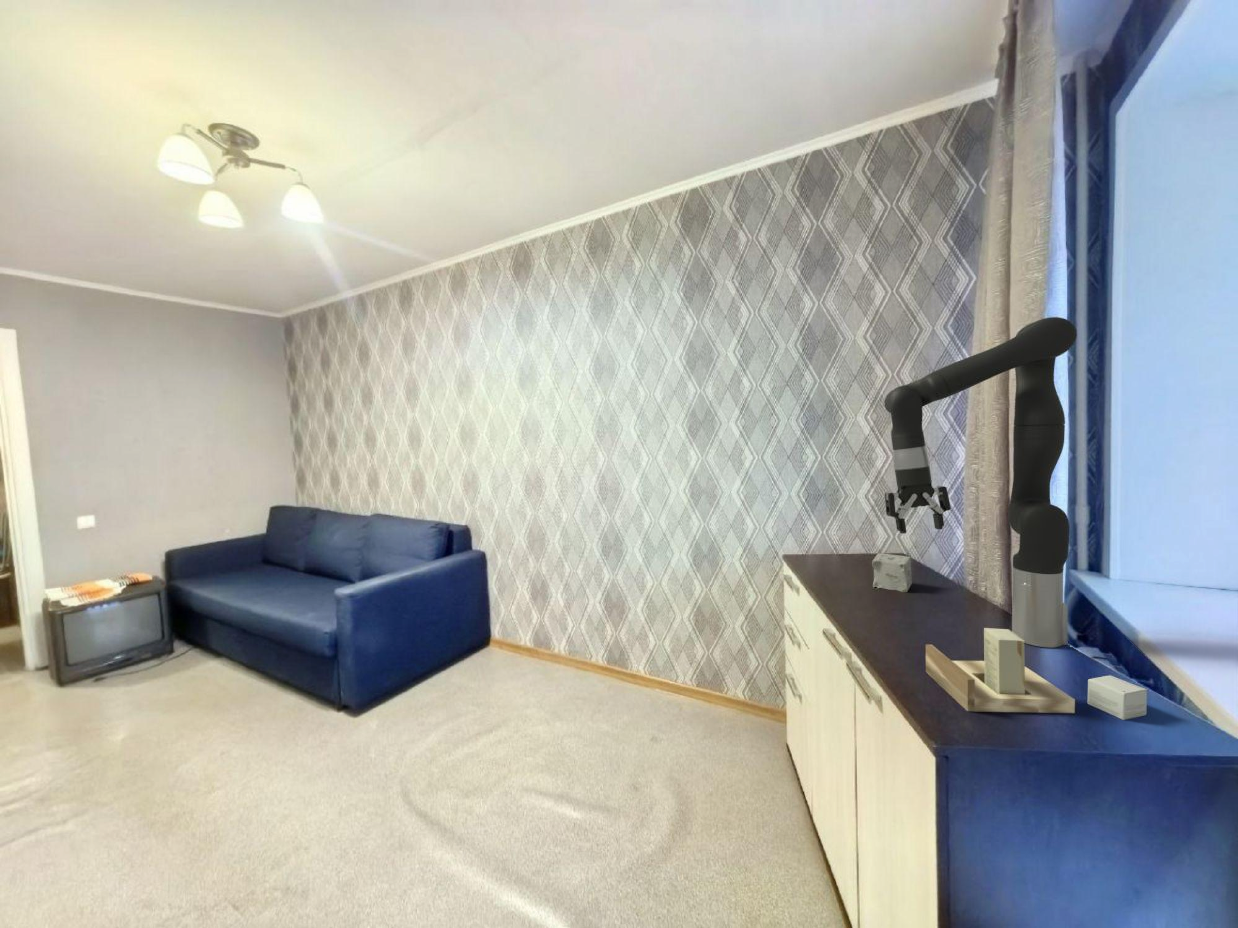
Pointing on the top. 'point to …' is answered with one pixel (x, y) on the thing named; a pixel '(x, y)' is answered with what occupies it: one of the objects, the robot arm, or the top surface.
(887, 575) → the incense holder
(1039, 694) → the rack
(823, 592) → the top surface
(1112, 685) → the small box
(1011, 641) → the skincare box
